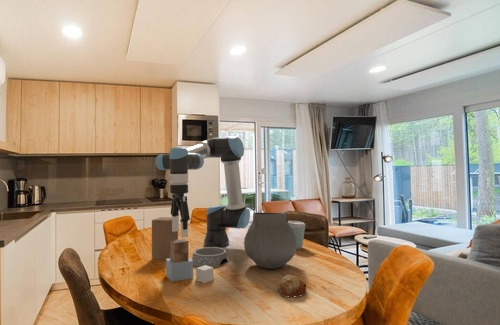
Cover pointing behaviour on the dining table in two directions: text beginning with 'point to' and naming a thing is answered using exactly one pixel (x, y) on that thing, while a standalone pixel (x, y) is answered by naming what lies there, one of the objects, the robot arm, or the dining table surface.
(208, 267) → the grey cube
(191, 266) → the slate block
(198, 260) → the dog bowl
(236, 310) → the dining table surface
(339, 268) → the dining table surface
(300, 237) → the disposable coffee cup
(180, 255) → the walnut block
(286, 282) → the bread roll
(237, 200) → the robot arm
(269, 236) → the ceramic pot
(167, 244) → the wooden block
